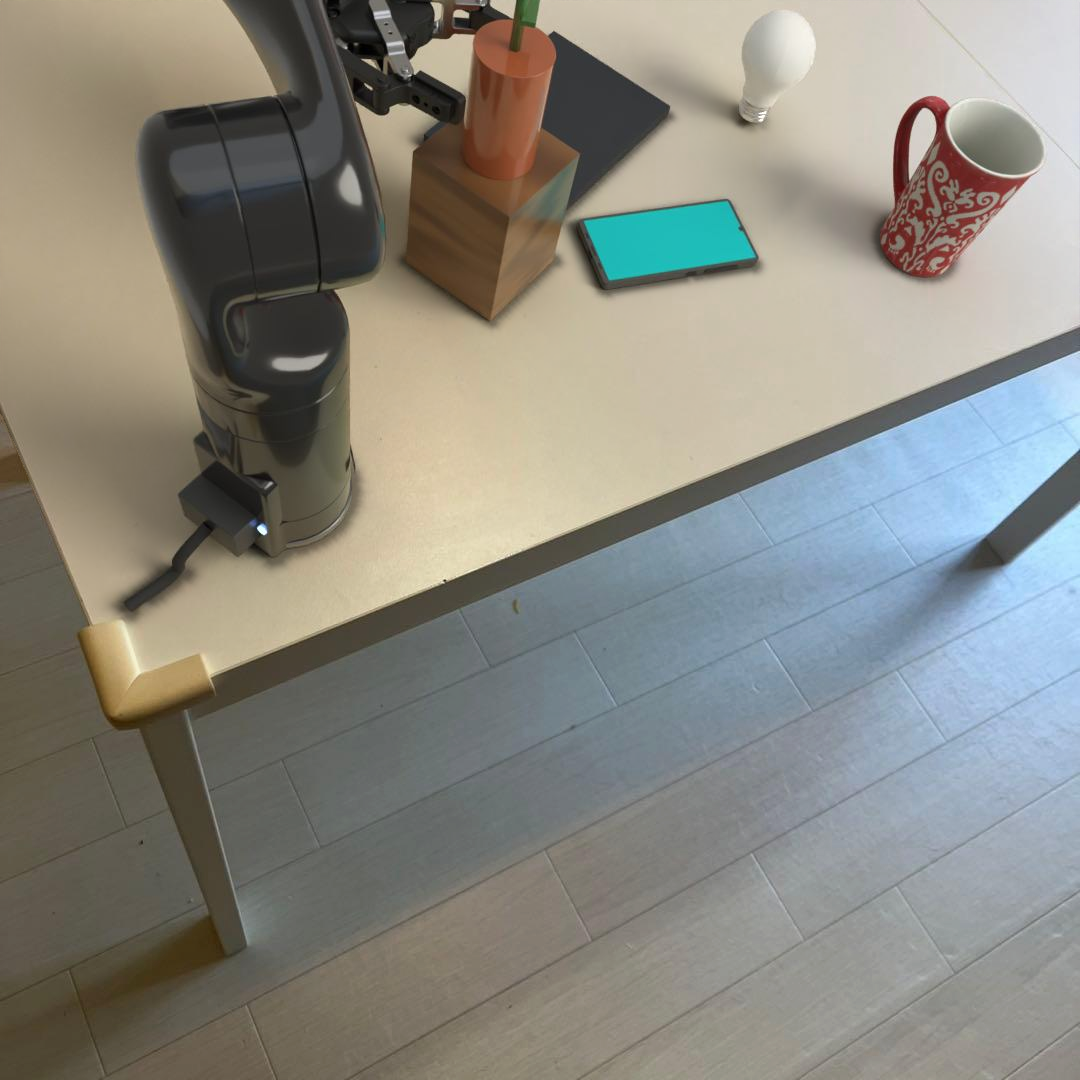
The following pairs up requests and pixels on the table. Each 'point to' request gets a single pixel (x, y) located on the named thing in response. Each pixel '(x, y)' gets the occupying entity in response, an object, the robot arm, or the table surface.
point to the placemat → (593, 113)
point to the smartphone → (666, 243)
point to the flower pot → (507, 94)
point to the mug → (956, 180)
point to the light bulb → (774, 60)
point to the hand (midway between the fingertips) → (495, 78)
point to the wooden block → (485, 220)
